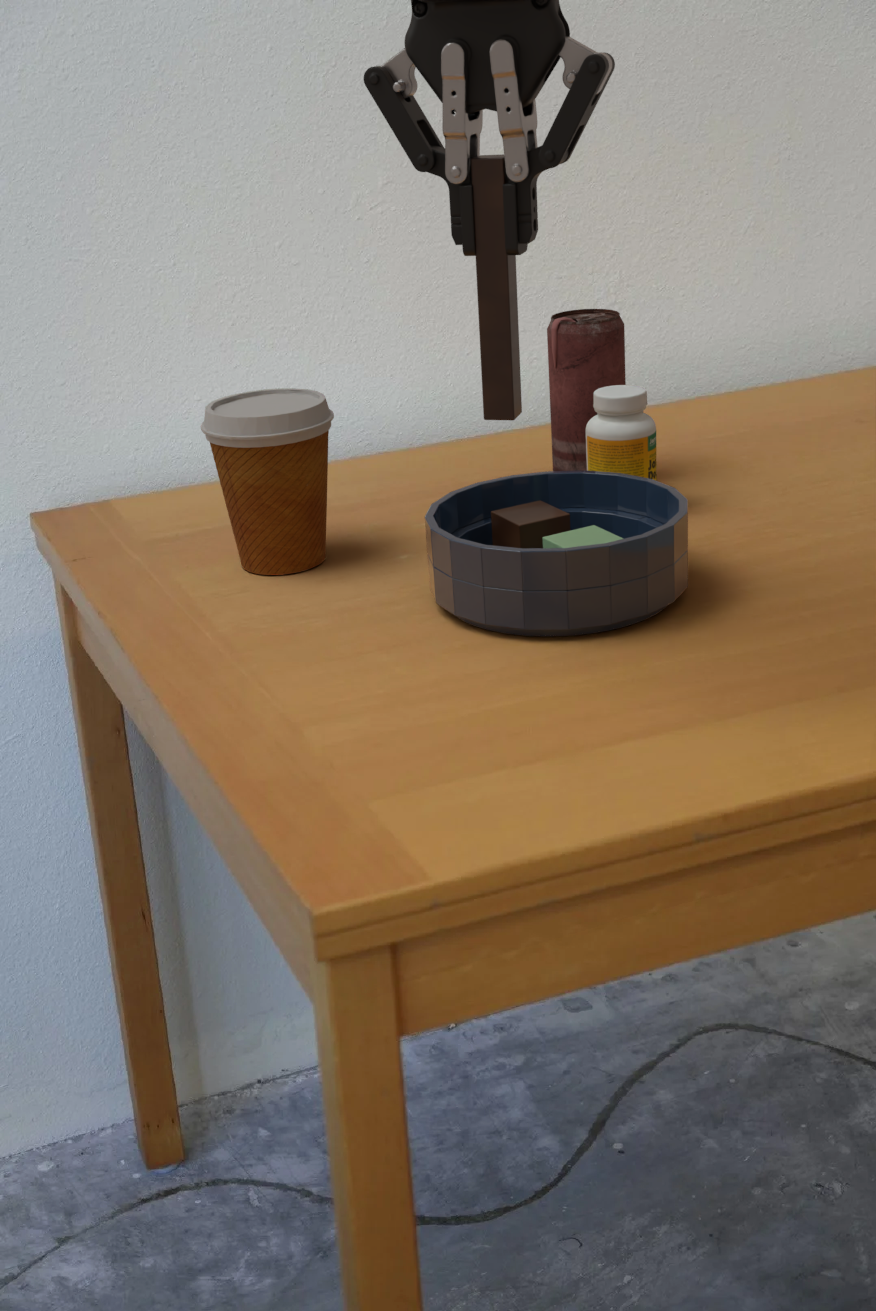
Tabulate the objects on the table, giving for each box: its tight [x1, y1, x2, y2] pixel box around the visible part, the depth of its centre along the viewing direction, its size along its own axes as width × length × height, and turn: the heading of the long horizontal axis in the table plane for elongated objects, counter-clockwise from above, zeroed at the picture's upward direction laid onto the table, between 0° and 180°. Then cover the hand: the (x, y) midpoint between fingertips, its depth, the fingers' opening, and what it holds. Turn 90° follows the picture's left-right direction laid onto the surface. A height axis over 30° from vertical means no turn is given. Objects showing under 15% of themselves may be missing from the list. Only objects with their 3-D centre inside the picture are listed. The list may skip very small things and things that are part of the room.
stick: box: [471, 153, 523, 421], centre depth 81 cm, size 2×2×14 cm
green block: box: [542, 525, 623, 548], centre depth 96 cm, size 4×4×4 cm
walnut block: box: [491, 500, 570, 549], centre depth 102 cm, size 4×4×4 cm
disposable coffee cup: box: [200, 387, 335, 576], centre depth 107 cm, size 10×10×12 cm
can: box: [546, 308, 627, 471], centre depth 120 cm, size 6×6×14 cm
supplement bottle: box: [586, 384, 658, 481], centre depth 113 cm, size 5×5×10 cm
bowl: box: [424, 470, 689, 638], centre depth 99 cm, size 17×17×6 cm
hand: (496, 252), depth 80 cm, fingers closed on stick, 2 cm apart
